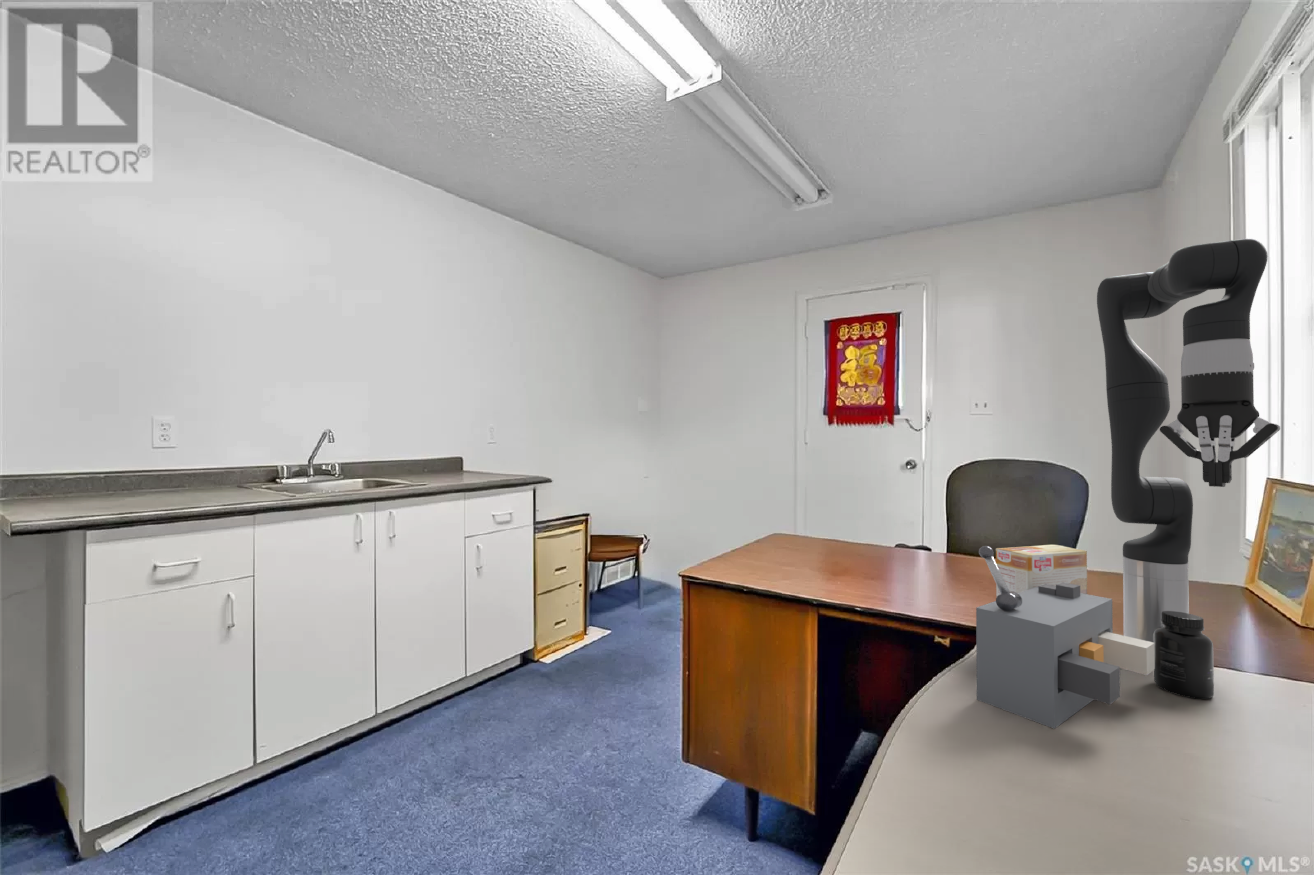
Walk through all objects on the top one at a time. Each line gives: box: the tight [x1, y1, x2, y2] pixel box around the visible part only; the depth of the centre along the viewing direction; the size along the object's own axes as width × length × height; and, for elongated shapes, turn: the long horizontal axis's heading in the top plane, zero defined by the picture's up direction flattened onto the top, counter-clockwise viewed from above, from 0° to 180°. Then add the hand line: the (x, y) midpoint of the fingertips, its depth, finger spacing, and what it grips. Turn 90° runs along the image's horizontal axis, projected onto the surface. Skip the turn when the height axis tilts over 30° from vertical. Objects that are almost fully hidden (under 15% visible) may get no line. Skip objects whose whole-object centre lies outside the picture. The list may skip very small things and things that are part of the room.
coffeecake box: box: [995, 544, 1088, 599], centre depth 100 cm, size 15×7×20 cm, turn 106°
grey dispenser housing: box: [975, 582, 1114, 729], centre depth 83 cm, size 24×10×16 cm, turn 124°
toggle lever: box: [978, 545, 1022, 611], centre depth 81 cm, size 3×2×10 cm
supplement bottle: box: [1153, 611, 1215, 700], centre depth 84 cm, size 7×7×12 cm
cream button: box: [1098, 631, 1155, 676], centre depth 82 cm, size 4×8×4 cm, turn 34°
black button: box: [1058, 652, 1121, 705], centre depth 73 cm, size 4×8×4 cm, turn 34°
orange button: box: [1079, 641, 1104, 662], centre depth 81 cm, size 4×8×4 cm, turn 34°
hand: (1217, 486), depth 80 cm, fingers closed
